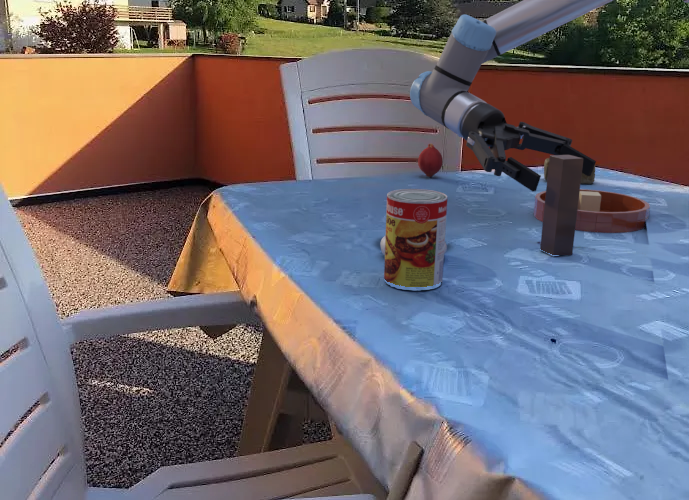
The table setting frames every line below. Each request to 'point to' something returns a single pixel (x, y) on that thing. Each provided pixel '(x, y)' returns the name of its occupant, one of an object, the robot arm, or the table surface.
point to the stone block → (584, 178)
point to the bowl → (606, 213)
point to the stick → (561, 204)
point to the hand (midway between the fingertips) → (565, 176)
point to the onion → (430, 160)
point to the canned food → (415, 237)
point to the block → (589, 201)
